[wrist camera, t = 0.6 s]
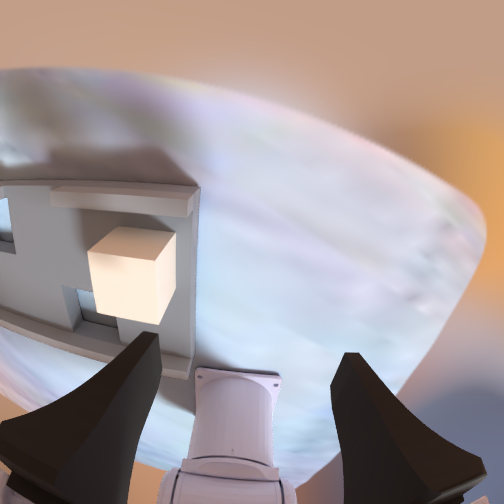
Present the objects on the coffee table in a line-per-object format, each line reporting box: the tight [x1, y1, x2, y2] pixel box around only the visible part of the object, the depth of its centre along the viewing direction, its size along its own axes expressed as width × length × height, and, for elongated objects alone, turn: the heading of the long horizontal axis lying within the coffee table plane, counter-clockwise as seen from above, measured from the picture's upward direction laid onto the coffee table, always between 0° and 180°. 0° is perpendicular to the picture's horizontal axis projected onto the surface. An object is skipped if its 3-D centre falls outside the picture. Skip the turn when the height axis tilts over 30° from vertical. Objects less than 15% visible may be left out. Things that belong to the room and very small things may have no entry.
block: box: [87, 226, 176, 325], centre depth 16 cm, size 4×4×4 cm
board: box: [0, 180, 201, 380], centre depth 19 cm, size 14×28×4 cm, turn 83°
